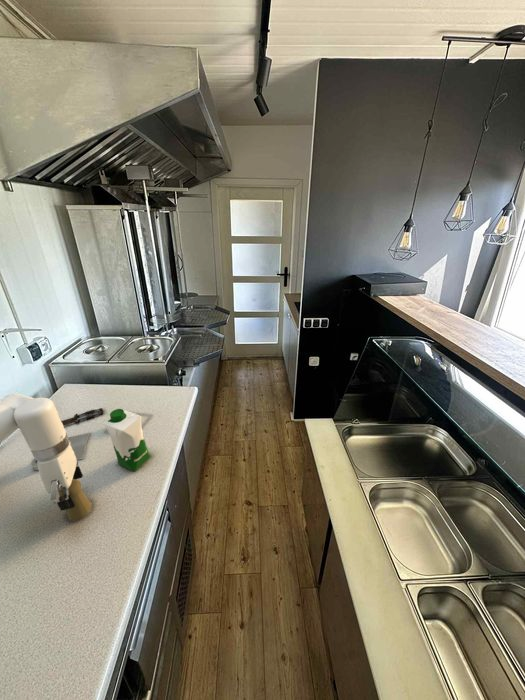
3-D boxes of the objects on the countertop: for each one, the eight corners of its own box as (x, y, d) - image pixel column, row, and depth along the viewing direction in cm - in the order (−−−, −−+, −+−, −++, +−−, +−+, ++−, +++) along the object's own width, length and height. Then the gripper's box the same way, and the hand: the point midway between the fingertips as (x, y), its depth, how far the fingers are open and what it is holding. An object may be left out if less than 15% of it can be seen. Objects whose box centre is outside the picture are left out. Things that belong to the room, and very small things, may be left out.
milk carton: (135, 448, 102) (122, 403, 94) (154, 456, 99) (143, 410, 90) (114, 466, 95) (99, 419, 86) (134, 475, 92) (120, 427, 83)
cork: (63, 514, 80) (50, 487, 76) (85, 498, 85) (74, 471, 80) (74, 525, 77) (61, 498, 72) (96, 508, 82) (85, 481, 77)
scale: (31, 473, 93) (28, 468, 92) (44, 444, 105) (42, 439, 104) (82, 461, 97) (80, 456, 96) (89, 434, 109) (87, 429, 108)
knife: (29, 439, 107) (28, 436, 107) (32, 428, 113) (31, 425, 112) (104, 417, 118) (103, 414, 118) (103, 409, 123) (102, 406, 123)
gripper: (44, 426, 76) (65, 472, 84) (18, 477, 62) (46, 526, 69) (75, 419, 79) (93, 464, 86) (58, 467, 64) (81, 516, 71)
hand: (72, 492), depth 78 cm, fingers open, 9 cm apart
